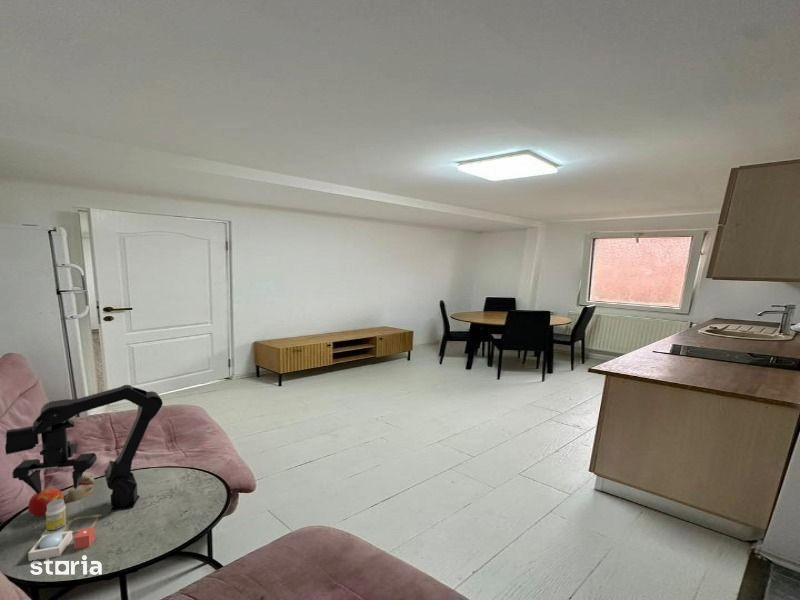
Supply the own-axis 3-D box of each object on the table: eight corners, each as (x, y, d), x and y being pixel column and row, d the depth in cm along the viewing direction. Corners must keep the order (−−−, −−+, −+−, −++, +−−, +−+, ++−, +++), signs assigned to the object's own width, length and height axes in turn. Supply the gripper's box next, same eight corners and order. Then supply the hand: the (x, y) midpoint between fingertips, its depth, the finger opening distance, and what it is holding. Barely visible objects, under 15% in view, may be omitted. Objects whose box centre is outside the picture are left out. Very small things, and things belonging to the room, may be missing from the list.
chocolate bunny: (93, 496, 131) (92, 469, 130) (63, 503, 127) (62, 476, 126) (95, 488, 136) (94, 462, 135) (66, 495, 132) (65, 468, 130)
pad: (72, 520, 119) (72, 520, 119) (63, 533, 114) (63, 532, 114) (51, 523, 118) (51, 523, 118) (40, 536, 112) (40, 535, 112)
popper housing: (72, 538, 112) (72, 530, 112) (59, 555, 106) (59, 547, 105) (43, 542, 110) (43, 535, 110) (28, 561, 103) (28, 553, 103)
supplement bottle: (55, 522, 118) (53, 497, 117) (71, 522, 118) (69, 497, 117) (42, 533, 113) (40, 508, 112) (59, 533, 114) (57, 507, 113)
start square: (101, 515, 122) (101, 514, 122) (90, 530, 116) (90, 529, 116) (74, 519, 120) (74, 518, 120) (62, 534, 113) (62, 533, 113)
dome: (66, 540, 111) (65, 530, 110) (57, 552, 106) (56, 542, 106) (46, 543, 109) (45, 534, 109) (36, 555, 105) (35, 546, 104)
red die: (95, 538, 113) (94, 526, 112) (89, 546, 109) (88, 535, 109) (80, 540, 111) (80, 529, 111) (74, 549, 108) (73, 537, 108)
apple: (49, 521, 118) (47, 498, 118) (21, 522, 118) (19, 498, 117) (69, 505, 126) (68, 483, 125) (43, 505, 126) (41, 483, 125)
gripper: (102, 428, 125) (104, 471, 126) (32, 434, 118) (35, 480, 120) (87, 444, 114) (89, 491, 116) (9, 452, 108) (13, 502, 110)
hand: (58, 490), depth 116 cm, fingers open, 9 cm apart
